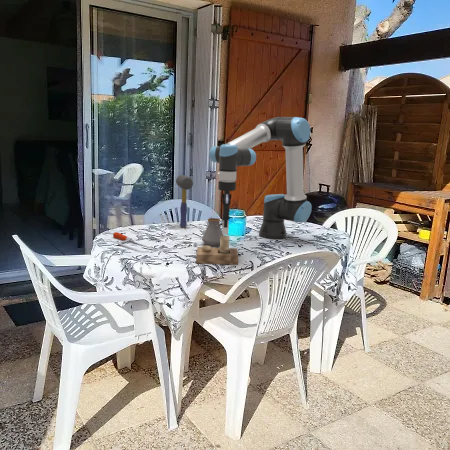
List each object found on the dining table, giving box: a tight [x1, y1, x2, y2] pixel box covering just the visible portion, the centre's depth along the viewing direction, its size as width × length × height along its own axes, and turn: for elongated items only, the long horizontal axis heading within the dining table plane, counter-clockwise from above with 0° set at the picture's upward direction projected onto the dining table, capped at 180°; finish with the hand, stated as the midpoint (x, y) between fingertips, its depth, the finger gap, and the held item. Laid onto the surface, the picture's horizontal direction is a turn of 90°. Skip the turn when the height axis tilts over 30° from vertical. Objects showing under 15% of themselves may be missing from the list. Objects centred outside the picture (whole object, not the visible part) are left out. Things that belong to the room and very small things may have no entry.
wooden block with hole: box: [195, 244, 239, 266], centre depth 205 cm, size 18×12×6 cm, turn 91°
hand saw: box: [112, 231, 159, 253], centre depth 224 cm, size 33×3×10 cm
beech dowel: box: [219, 234, 230, 253], centre depth 205 cm, size 4×4×11 cm
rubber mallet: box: [175, 174, 194, 229], centre depth 261 cm, size 12×8×30 cm, turn 21°
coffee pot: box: [201, 217, 224, 247], centre depth 226 cm, size 21×12×15 cm, turn 22°
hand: (225, 234), depth 203 cm, fingers closed
